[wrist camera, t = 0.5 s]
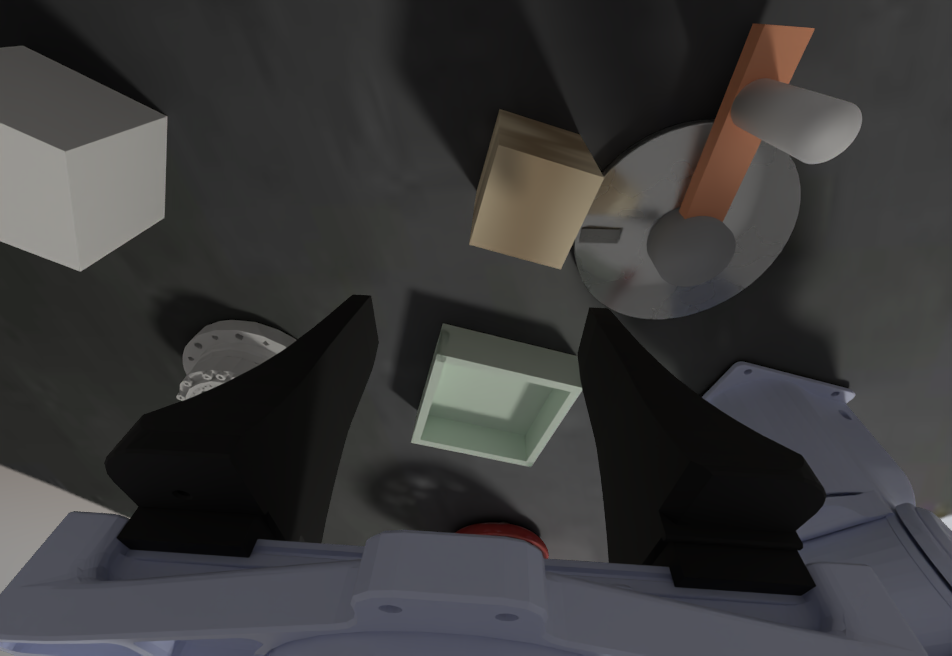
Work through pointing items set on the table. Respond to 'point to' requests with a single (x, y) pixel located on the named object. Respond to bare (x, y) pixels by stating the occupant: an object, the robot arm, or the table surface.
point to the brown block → (533, 190)
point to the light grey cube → (74, 162)
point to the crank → (748, 150)
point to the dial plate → (662, 191)
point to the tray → (494, 396)
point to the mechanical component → (227, 353)
